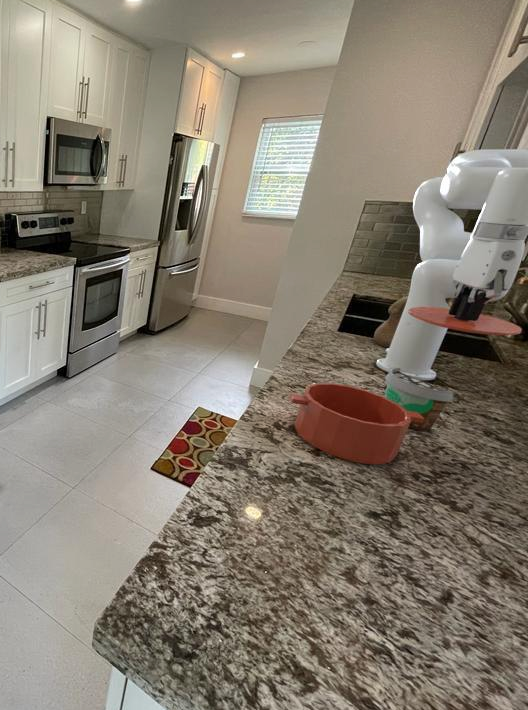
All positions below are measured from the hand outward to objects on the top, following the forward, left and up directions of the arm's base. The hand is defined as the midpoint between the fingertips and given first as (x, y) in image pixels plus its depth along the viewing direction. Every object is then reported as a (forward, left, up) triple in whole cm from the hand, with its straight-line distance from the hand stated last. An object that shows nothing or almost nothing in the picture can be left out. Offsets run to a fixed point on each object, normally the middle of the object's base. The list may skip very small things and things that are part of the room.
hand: (462, 316), depth 90 cm
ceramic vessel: (-41, +16, -22) cm, 50 cm away
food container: (+11, -10, -22) cm, 27 cm away
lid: (0, 0, -1) cm, 1 cm away
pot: (+24, -25, -22) cm, 41 cm away
